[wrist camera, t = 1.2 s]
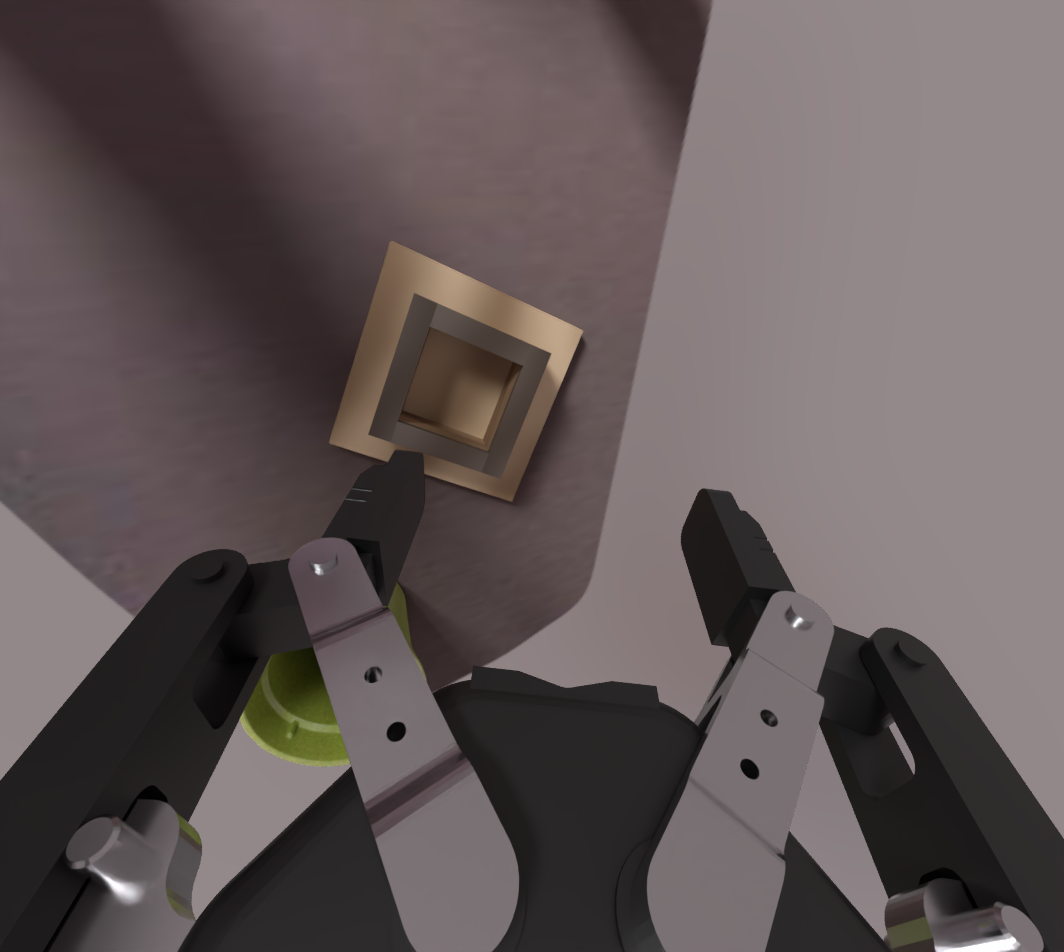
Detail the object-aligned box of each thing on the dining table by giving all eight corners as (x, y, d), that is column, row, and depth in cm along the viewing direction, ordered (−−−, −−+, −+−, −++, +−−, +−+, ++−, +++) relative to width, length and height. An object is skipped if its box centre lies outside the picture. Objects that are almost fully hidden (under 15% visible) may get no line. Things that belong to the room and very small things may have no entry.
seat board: (332, 439, 27) (313, 458, 23) (392, 243, 25) (383, 225, 21) (509, 496, 31) (520, 522, 27) (578, 330, 28) (603, 330, 24)
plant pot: (443, 638, 34) (445, 736, 25) (316, 674, 32) (275, 789, 24) (410, 530, 30) (400, 603, 22) (267, 565, 29) (202, 656, 21)
